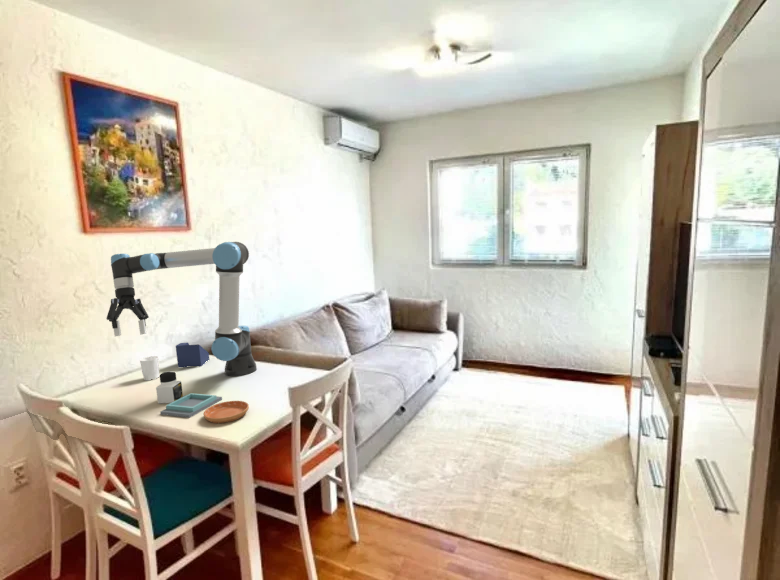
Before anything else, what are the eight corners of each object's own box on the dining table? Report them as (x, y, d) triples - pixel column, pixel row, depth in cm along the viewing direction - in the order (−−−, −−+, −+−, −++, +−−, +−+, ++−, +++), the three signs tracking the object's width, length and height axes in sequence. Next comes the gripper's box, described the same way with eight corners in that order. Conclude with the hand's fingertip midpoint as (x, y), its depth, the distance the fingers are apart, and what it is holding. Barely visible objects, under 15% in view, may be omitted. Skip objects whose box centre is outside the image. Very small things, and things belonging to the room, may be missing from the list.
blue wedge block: (209, 359, 240) (207, 338, 239) (201, 366, 229) (198, 344, 227) (187, 361, 240) (185, 340, 238) (178, 367, 228) (175, 345, 226)
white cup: (164, 375, 216) (161, 356, 214) (154, 380, 208) (151, 360, 207) (149, 375, 217) (146, 356, 215) (138, 381, 209) (136, 361, 208)
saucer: (217, 429, 151) (216, 421, 151) (196, 418, 162) (195, 411, 161) (257, 413, 163) (256, 406, 163) (235, 404, 174) (234, 397, 173)
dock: (194, 397, 183) (194, 391, 183) (222, 399, 179) (221, 393, 179) (160, 414, 167) (159, 407, 166) (189, 417, 162) (188, 410, 162)
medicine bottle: (174, 403, 178) (171, 375, 176) (157, 403, 178) (154, 375, 176) (183, 396, 185) (180, 369, 183) (166, 397, 185) (163, 370, 183)
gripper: (140, 291, 207) (146, 334, 205) (92, 288, 183) (99, 338, 181) (152, 287, 205) (159, 331, 203) (106, 285, 181) (113, 335, 179)
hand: (131, 335), depth 192 cm, fingers open, 13 cm apart
